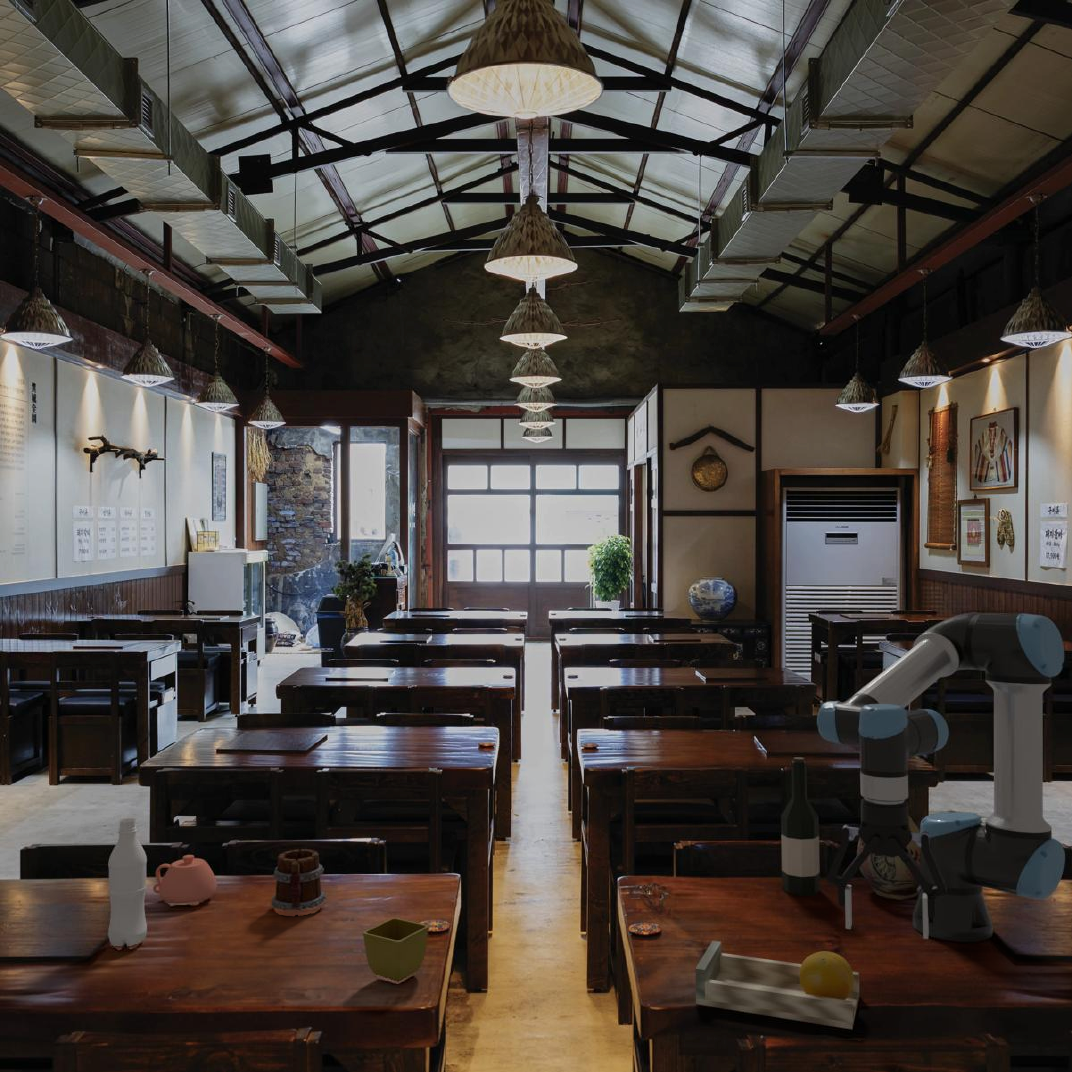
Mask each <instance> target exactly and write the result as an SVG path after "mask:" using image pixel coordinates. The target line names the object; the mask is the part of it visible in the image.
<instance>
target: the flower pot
mask: <svg viewBox="0 0 1072 1072" xmlns="http://www.w3.org/2000/svg"><path fill="white" fill-rule="evenodd" d="M428 934H429V925H426V924H424V923H423V924H422V923H419V922H415V921H410V920H406V919H401V918H398V917H391V918H389V919H387V920H386V921H383V922H382V923H379V924H377V925H376V926H373V927H372V928H369V929H366V930H364V931H363V932H362V936H363V942H364V943H363V944H364V949H365V956H366V960H367V963H368V966H369V969H370V970H371V972H372V973H373V975H374V974H376V975H380V976H383V977H385V978H389V979H391V980H394V981H397V982H399V981H401V980H403V979H404V978H406V977H407V976H409V975H411V974H413V973H415V972H417V973H418V971H419V970H420V967H421V966H422V964H423V961H424V959H425V956H426V951H427V945H428V936H429V935H428Z"/></svg>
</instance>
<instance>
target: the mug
mask: <svg viewBox="0 0 1072 1072" xmlns="http://www.w3.org/2000/svg"><path fill="white" fill-rule="evenodd" d="M319 856H320V855H319V853H318V851H317V850H316V851H315V850H313V849H307V848H303V849H302V848H301V849H300V850H299V849H292V850H288V851H283V852H282V853H280V854H279V855H278V856H277V866H276V867H275V868H274V872H273V878H274V879H275V880H276V884H275V894H273V896H272V898H271V902H270V905H271V907H272V906H273V907H274V908H278V909H282V910H301V909H306V908H313V907H315V906H318V905H319V904H321V903H322V902H323V901H324V899H325V900H327V895H325V892H324V891H323V890H322V886H321V884H322V883H321V877H322V875H323V873H324V872H325V871H324V870H325V868H324V867H323V865H322V864H321V863H320V857H319ZM273 907H272V908H273ZM274 908H273V909H274Z"/></svg>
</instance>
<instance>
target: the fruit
mask: <svg viewBox="0 0 1072 1072" xmlns="http://www.w3.org/2000/svg"><path fill="white" fill-rule="evenodd" d="M801 964H802V965H801V967H800V972H799V979H800V984H801V986H802V989H803V990H804V992H805V993H806V994H808V995H814V996H821V997H827V998H834V999H841V1000H846V999H847V998H848V997H849V995H850V992H851V990H852V987H853V983H854V976H853V972H854V971H853V969H852V967H851V965H850V964H849V962H848V961H847V960H846V959H845V958H844V957H843V956H841V955H839V954H837V953H835V952H832V951H828V950H827V951H826V950H825V951H824V950H823V951H817V952H814V953H812V954H810V955H808V956H807V957H806V958H805V959H804V960H803V962H802V963H801Z"/></svg>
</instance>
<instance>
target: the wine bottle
mask: <svg viewBox="0 0 1072 1072" xmlns="http://www.w3.org/2000/svg"><path fill="white" fill-rule="evenodd" d="M790 765H791V766H790V767H791V768H790V770H791V771H790V772H791V774H790V776H791V779H790V780H791V799H790V800H789V802H788V804H786V807H785V809H784V810H783V812H782V813H781V815H780V825H781V827H780V828H781V832H780V833H781V837H780V838H781V885H782V886H781V887H782V890H783V891H784V892H786V893H788V894H790V895H795V896H796V895H797V896H814V895H816V894H818V893H819V892H820V891H821V886H820V885H821V882H820V876H821V875H820V825H819V824H820V822H819V820H820V819H819V816H818V814H817V813H816V810H815V809H814V807H813V806H812V805H811V803H810V801H809V799H808V791H807V790H808V776H807V774H808V773H807V772H808V771H807V768H808V767H807V761H805V758H804V757H800V756H799V757H798V756H797V757H793V758H792V760H791V761H790Z"/></svg>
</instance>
